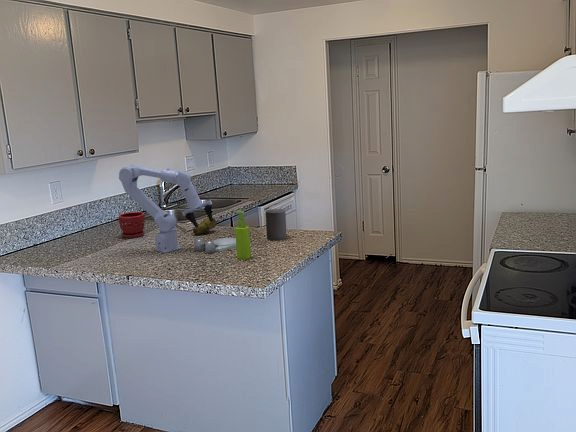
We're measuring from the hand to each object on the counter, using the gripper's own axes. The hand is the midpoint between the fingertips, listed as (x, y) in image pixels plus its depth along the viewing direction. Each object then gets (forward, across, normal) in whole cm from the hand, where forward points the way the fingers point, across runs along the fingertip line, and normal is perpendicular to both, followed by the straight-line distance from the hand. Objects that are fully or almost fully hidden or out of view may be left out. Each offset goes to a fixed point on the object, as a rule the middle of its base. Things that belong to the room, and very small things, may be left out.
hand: (204, 224), depth 254 cm
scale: (+13, +2, +3) cm, 14 cm away
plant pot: (-5, -50, +29) cm, 58 cm away
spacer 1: (+10, -6, -4) cm, 12 cm away
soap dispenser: (+18, +16, -18) cm, 30 cm away
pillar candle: (+22, +25, +15) cm, 36 cm away
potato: (+8, -14, +31) cm, 35 cm away
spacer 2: (+12, 0, -9) cm, 15 cm away
